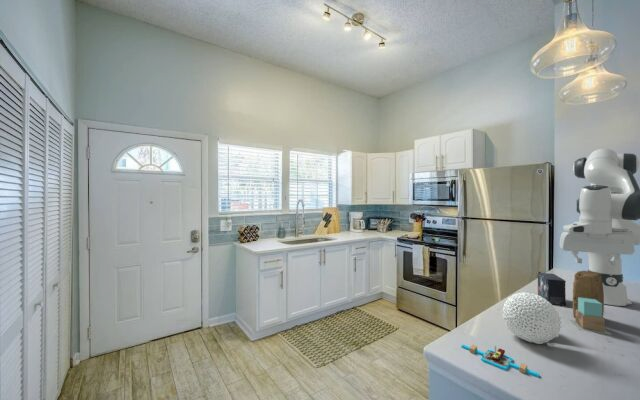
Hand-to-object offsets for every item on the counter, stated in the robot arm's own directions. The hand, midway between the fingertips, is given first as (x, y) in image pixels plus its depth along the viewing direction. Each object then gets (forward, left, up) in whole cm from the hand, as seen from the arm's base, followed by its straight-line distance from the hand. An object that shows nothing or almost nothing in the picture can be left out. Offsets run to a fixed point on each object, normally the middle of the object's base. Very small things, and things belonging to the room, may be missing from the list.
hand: (594, 264), depth 102 cm
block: (-8, +1, -25) cm, 27 cm away
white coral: (+18, -25, -25) cm, 40 cm away
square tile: (+2, -2, -25) cm, 25 cm away
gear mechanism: (+39, -37, -26) cm, 60 cm away
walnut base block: (+2, -2, -24) cm, 24 cm away
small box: (-31, -4, -25) cm, 40 cm away
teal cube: (+2, -2, -19) cm, 19 cm away
